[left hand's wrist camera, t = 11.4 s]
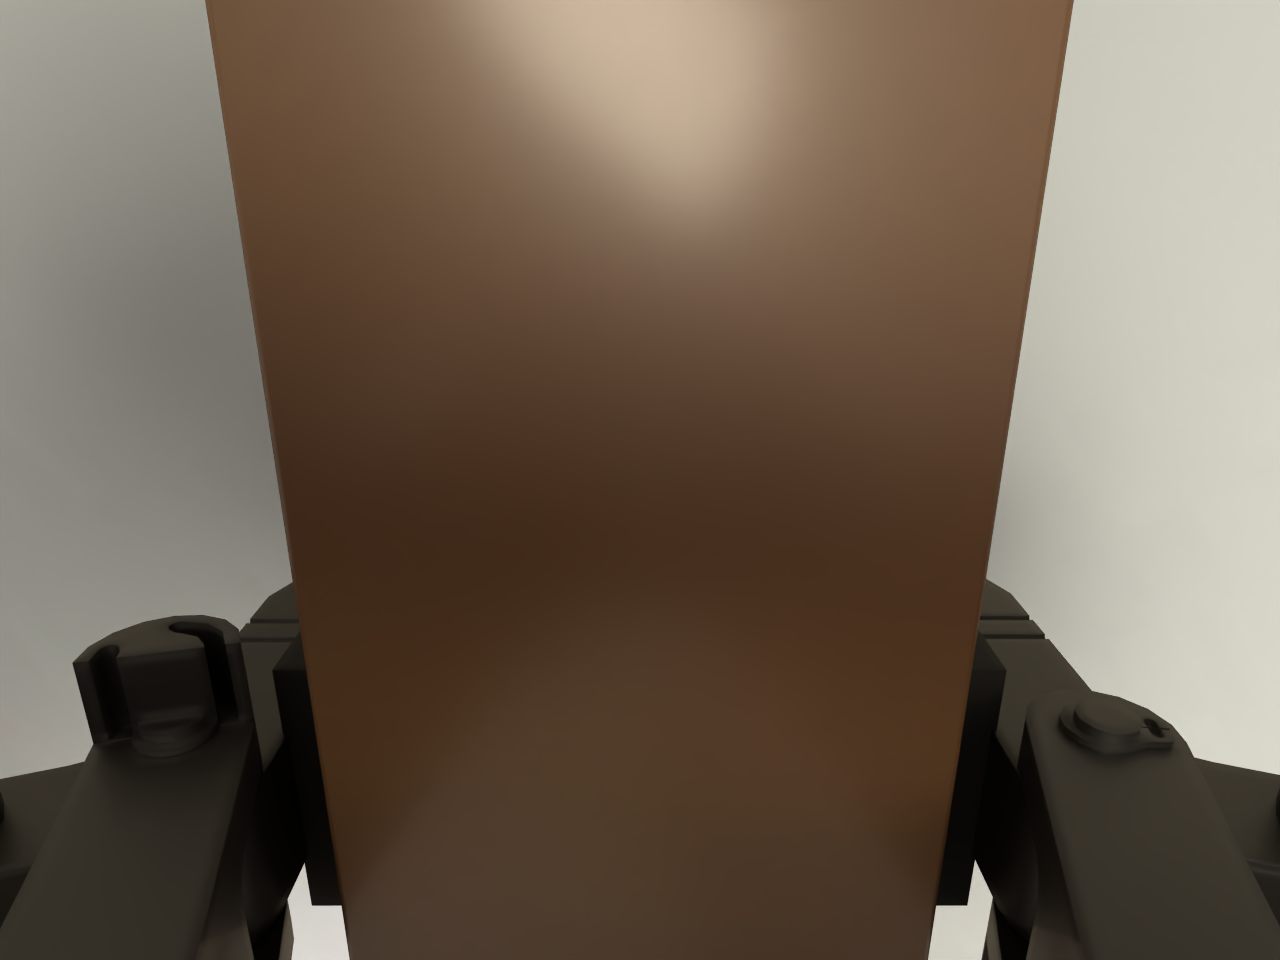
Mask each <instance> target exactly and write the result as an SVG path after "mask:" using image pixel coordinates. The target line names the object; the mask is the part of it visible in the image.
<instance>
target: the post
mask: <svg viewBox="0 0 1280 960" xmlns="http://www.w3.org/2000/svg"><path fill="white" fill-rule="evenodd" d="M205 1H206V8H207V15H208V21H209V28H210V35H211V41H212V48H213V55H214V61H215V68H216V74H217V81H218V88H219V94H220V101H221V108H222V114H223V121H224V128H225V134H226V141H227V147H228V154H229V161H230V167H231V174H232V181H233V187H234V194H235V201H236V207H237V214H238V220H239V227H240V234H241V240H242V247H243V254H244V260H245V267H246V274H247V280H248V287H249V294H250V300H251V307H252V313H253V320H254V327H255V333H256V340H257V347H258V353H259V360H260V367H261V373H262V380H263V386H264V393H265V400H266V406H267V413H268V420H269V426H270V433H271V440H272V446H273V453H274V460H275V466H276V473H277V479H278V486H279V493H280V499H281V506H282V513H283V519H284V526H285V533H286V539H287V546H288V552H289V559H290V566H291V572H292V579H293V586H294V592H295V599H296V606H297V612H298V619H299V626H300V632H301V639H302V645H303V652H304V659H305V665H306V672H307V679H308V685H309V692H310V699H311V705H312V712H313V718H314V725H315V732H316V738H317V745H318V752H319V758H320V765H321V772H322V778H323V785H324V791H325V798H326V805H327V811H328V818H329V825H330V831H331V838H332V845H333V851H334V858H335V865H336V871H337V878H338V884H339V891H340V898H341V904H342V911H343V918H344V924H345V931H346V938H347V944H348V951H349V957H350V960H928V955H929V949H930V942H931V935H932V929H933V922H934V916H935V909H936V902H937V896H938V889H939V883H940V876H941V870H942V863H943V856H944V850H945V843H946V837H947V830H948V824H949V817H950V810H951V804H952V797H953V791H954V784H955V778H956V771H957V764H958V758H959V751H960V745H961V738H962V731H963V725H964V718H965V712H966V705H967V699H968V692H969V685H970V679H971V672H972V666H973V659H974V653H975V646H976V639H977V633H978V626H979V620H980V613H981V606H982V600H983V593H984V587H985V580H986V574H987V567H988V560H989V554H990V547H991V541H992V534H993V528H994V521H995V514H996V508H997V501H998V495H999V488H1000V481H1001V475H1002V468H1003V462H1004V455H1005V449H1006V442H1007V435H1008V429H1009V422H1010V416H1011V409H1012V403H1013V396H1014V389H1015V383H1016V376H1017V370H1018V363H1019V357H1020V350H1021V343H1022V337H1023V330H1024V324H1025V317H1026V310H1027V304H1028V297H1029V291H1030V284H1031V278H1032V271H1033V264H1034V258H1035V251H1036V245H1037V238H1038V232H1039V225H1040V218H1041V212H1042V205H1043V199H1044V192H1045V185H1046V179H1047V172H1048V166H1049V159H1050V153H1051V146H1052V139H1053V133H1054V126H1055V120H1056V113H1057V107H1058V100H1059V93H1060V87H1061V80H1062V74H1063V67H1064V60H1065V54H1066V47H1067V41H1068V34H1069V28H1070V21H1071V14H1072V8H1073V1H1074V0H205Z"/></svg>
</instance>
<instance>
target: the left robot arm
mask: <svg viewBox="0 0 1280 960" xmlns="http://www.w3.org/2000/svg"><path fill="white" fill-rule="evenodd" d="M73 667H74V671H75V675H76V678H77V682H78V686H79V690H80V694H81V698H82V701H83V705H84V709H85V713H86V717H87V721H88V724H89V728H90V732H91V736H92V740H93V746H92V748H91V750H90V752H89V754H88V756H87V758H86V760H85V762H81V763H78V764H74V765H70V766H65V767H60V768H55V769H50V770H45V771H40V772H35V773H29V774H24V775H19V776H14V777H9V778H4V779H0V960H291V958H292V950H293V942H294V936H293V929H292V922H291V916H290V910H289V905H288V897H289V895H290V893H291V890H292V888H293V886H294V884H295V882H296V880H297V878H298V875H299V873H300V871H301V869H302V867H303V865H304V863H305V867H306V873H307V879H308V885H309V891H310V897H311V903H312V906H333V905H342V904H341V898H340V891H339V884H338V878H337V871H336V865H335V858H334V851H333V845H332V838H331V831H330V825H329V818H328V811H327V805H326V798H325V791H324V785H323V778H322V772H321V765H320V758H319V752H318V745H317V738H316V732H315V725H314V718H313V712H312V705H311V699H310V692H309V685H308V679H307V672H306V665H305V659H304V652H303V645H302V639H301V632H300V626H299V619H298V612H297V606H296V599H295V592H294V586H293V582H292V583H291V584H289V585H287V586H286V587H284V588H282V589H281V590H279V591H277V592H276V593H274V594H272V595H271V596H269V597H268V598H267V599H266V601H265V602H264V603H263V604H262V606H261V607H260V608H259V609H258V610H257V612H256V613H255V614H254V615H253V616H252V618H251V619H250V623H247V624H246V625H245V626H244V627H243V629H242V630H241V631H240V632H239V630H238V628H236V627H235V626H234V625H232V624H231V623H229V622H228V621H227V620H225V619H220V618H215V617H210V616H205V615H190V616H172V617H167V618H162V619H157V620H151V621H146V622H142V623H140V624H137V625H134V626H131V627H128V628H125V629H123V630H120V631H117V632H114V633H112V634H110V635H109V636H107V637H105V638H103V639H102V640H100V641H98V642H96V643H94V644H93V645H91V646H89V647H88V648H87V649H86V650H85V651H84V652H83V653H82V654H81V655H80V656H79V657H78V658H77V659H76V660H75V661H74V662H73ZM975 860H976V862H977V864H978V866H979V869H980V871H981V873H982V875H983V877H984V879H985V881H986V883H987V886H988V888H989V890H990V892H991V894H992V896H993V899H992V905H991V910H990V916H989V921H988V927H987V932H986V938H985V943H984V949H983V954H982V960H1280V775H1276V774H1271V773H1266V772H1261V771H1256V770H1251V769H1246V768H1240V767H1235V766H1230V765H1225V764H1220V763H1215V762H1210V761H1206V760H1202V759H1198V758H1194V756H1193V754H1192V752H1191V750H1190V748H1189V747H1188V745H1187V743H1186V741H1185V740H1184V739H1183V738H1182V737H1181V735H1180V734H1179V733H1178V732H1177V731H1176V729H1175V728H1174V727H1173V726H1172V725H1171V724H1170V723H1168V722H1167V721H1165V720H1164V719H1162V718H1161V717H1159V716H1158V715H1156V714H1155V713H1153V712H1152V711H1150V710H1149V709H1147V708H1144V707H1142V706H1139V705H1137V704H1135V703H1132V702H1130V701H1127V700H1125V699H1122V698H1120V697H1116V696H1112V695H1107V694H1103V693H1099V692H1094V691H1091V689H1090V688H1089V687H1088V686H1087V685H1086V683H1085V682H1084V681H1083V680H1082V679H1081V677H1080V676H1079V675H1078V674H1077V673H1076V671H1075V670H1074V669H1073V668H1072V667H1071V665H1070V664H1069V663H1068V662H1067V660H1066V659H1065V658H1064V657H1063V656H1062V654H1061V653H1060V652H1059V651H1058V650H1057V648H1056V647H1055V646H1054V645H1053V644H1052V642H1051V641H1050V640H1049V639H1045V634H1044V633H1043V632H1042V630H1041V629H1040V628H1039V627H1038V626H1037V624H1036V623H1035V622H1034V621H1033V620H1029V615H1028V614H1027V612H1026V611H1025V610H1024V609H1023V608H1022V606H1021V605H1020V604H1019V603H1018V602H1017V600H1016V599H1015V598H1014V597H1013V596H1012V594H1011V593H1009V592H1007V591H1006V590H1004V589H1002V588H1001V587H999V586H997V585H995V584H994V583H992V582H990V581H989V580H987V579H986V580H985V587H984V593H983V600H982V606H981V613H980V620H979V626H978V633H977V639H976V646H975V653H974V659H973V666H972V672H971V679H970V685H969V692H968V699H967V705H966V712H965V718H964V725H963V731H962V738H961V745H960V751H959V758H958V764H957V771H956V778H955V784H954V791H953V797H952V804H951V810H950V817H949V824H948V830H947V837H946V843H945V850H944V856H943V863H942V870H941V876H940V883H939V889H938V896H937V902H936V905H967V903H968V897H969V891H970V885H971V880H972V874H973V868H974V862H975Z"/></svg>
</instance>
